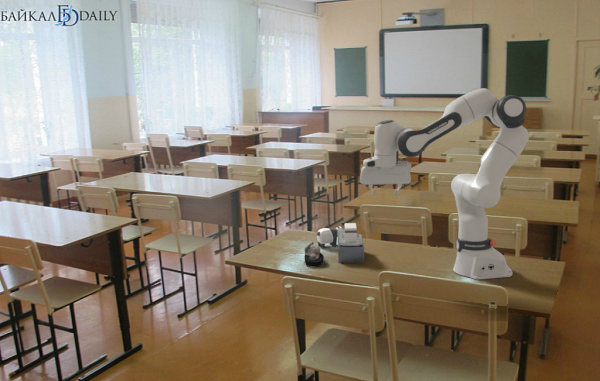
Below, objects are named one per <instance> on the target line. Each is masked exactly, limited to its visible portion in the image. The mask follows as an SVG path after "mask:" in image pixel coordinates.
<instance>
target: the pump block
mask: <svg viewBox="0 0 600 381" xmlns="http://www.w3.org/2000/svg"><path fill="white" fill-rule="evenodd" d="M343 229H345V233H344V234H345V242H357V234H358V229H357V223H356V222H348V223H347V222H346V223H344V228H343Z"/></svg>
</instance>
